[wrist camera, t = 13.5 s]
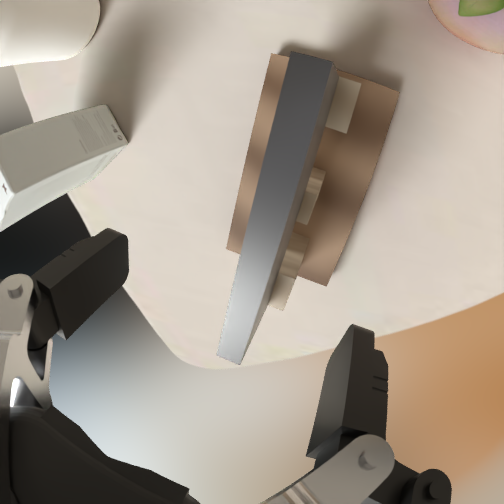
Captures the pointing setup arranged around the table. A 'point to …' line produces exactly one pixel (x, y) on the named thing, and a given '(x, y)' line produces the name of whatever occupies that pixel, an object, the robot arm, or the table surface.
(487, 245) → the table surface
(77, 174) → the skincare box
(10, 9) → the wine bottle
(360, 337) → the robot arm
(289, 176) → the dark flat rectangular bar
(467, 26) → the decorative fruit
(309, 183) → the wooden peg rack
